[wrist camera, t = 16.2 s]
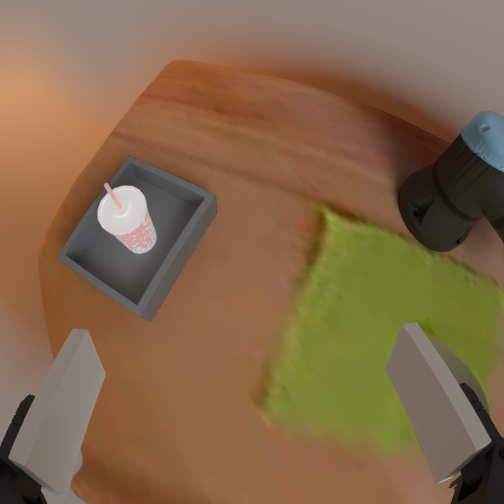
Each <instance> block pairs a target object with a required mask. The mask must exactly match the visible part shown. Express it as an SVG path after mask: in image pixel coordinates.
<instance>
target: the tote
mask: <svg viewBox="0 0 504 504" xmlns="http://www.w3.org/2000/svg"><path fill="white" fill-rule="evenodd" d="M108 185H109V186H110V188H111V190H113V189H114V188H117V187H120V186H133V187H135V188H137V189H139V190H140V191H141V192H142V194H143V195H144V197H145V199H146V203H147V210H148V213H149V215H150V218H151V220H152V223H153V226H154V228H155V231H156V236H157V238H156V242H155V244H154V246H153V247H152V249H150V250H149V251H147V252H145V253H141V254H139V253H134V252H132V251H131V250H129V249H128V248H127V247H126V246H125V245H124V244H123V243H122V242H121V241H119V240H118V239H117V238H116V237H115V236H114V235H113V234H110V233H109V232H107V231H106V230H105V229H104V228H102V226H101V224H100V222H99V221H98V212H97V210H98V208H99V205H100V202H101V200H102V199H103V198H104V196H105V195H106V194H107V193H108V192H107V190H106V188H105V187H104V189H103V190H102V191H101V193H100V194H99V195H98V197H97V198H96V199H95V201H94V202H93V203H92V205H91V206H90V208H89V209H88V211H87V212H86V213H85V215H84V216H83V218H82V219H81V221H80V222H79V224H78V225H77V227H76V228H75V230H74V231H73V233H72V234H71V236H70V237H69V239H68V240H67V242H66V243H65V245H64V247H63V248H62V250H61V252H60V253H59V255H58V256H57V258H58V259H59V260H61V261H62V262H63V263H64V264H66V265H67V266H68V267H70V268H71V269H72V270H74V271H75V272H76V273H78V274H79V275H80V276H82V277H83V278H84V279H86V280H87V281H88V282H90V283H91V284H92V285H94V286H95V287H97V288H98V289H99V290H101V291H102V292H104V293H105V294H107V295H108V296H109V297H111V298H112V299H114V300H115V301H117V302H118V303H120V304H121V305H123V306H124V307H126V308H127V309H129V310H130V311H132V312H133V313H135V314H136V315H138V316H139V317H141V318H143V319H146V320H148V321H150V322H151V321H152V320H153V318H154V316H155V314H156V313H157V311H158V309H159V307H160V306H161V304H162V302H163V300H164V299H165V297H166V295H167V294H168V292H169V290H170V289H171V287H172V285H173V283H174V282H175V280H176V278H177V277H178V275H179V273H180V272H181V270H182V268H183V267H184V265H185V263H186V262H187V260H188V259H189V257H190V255H191V254H192V252H193V250H194V249H195V247H196V246H197V244H198V242H199V241H200V239H201V237H202V236H203V234H204V233H205V231H206V230H207V228H208V226H209V225H210V223H211V222H212V220H213V218H214V217H215V215H216V214H217V203H216V195H215V194H213V193H211V192H209V191H207V190H204V189H202V188H200V187H198V186H196V185H194V184H191V183H189V182H187V181H185V180H183V179H181V178H178V177H176V176H174V175H172V174H170V173H167V172H165V171H163V170H161V169H158V168H156V167H154V166H152V165H149V164H147V163H145V162H143V161H140V160H138V159H136V158H133V157H131V156H129V157H128V158H127V160H126V161H125V162H124V163H123V164H122V166H121V167H120V168H119V169H118V171H117V172H116V173H115V174H114V176H113V177H112V178H111V179H110V181H109V182H108Z"/></svg>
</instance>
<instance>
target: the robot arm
mask: <svg viewBox="0 0 504 504" xmlns="http://www.w3.org/2000/svg"><path fill="white" fill-rule="evenodd" d="M399 207H400V211H401V215H402V217H403V220H404V222H405V224H406V226H407V227H408V229H409V230H410V232H411V233H412V234H413V235H414V237H415V238H416V239H417V240H418V241H419V242H421V243H422V244H423V245H424V246H426V247H428V248H429V249H432V250H434V251H438V252H448V251H451V250H453V249H454V248H456V247H458V246H459V245H460V244H462V243H463V242H464V240H465V239H466V238H467V236H468V234H469V233H470V231H471V230H472V228H473V227H474V225H475V223H476V222H477V221H478V220H479V219H480V218H482V217H483V216H485V217H486V218H487V220H488V221H489V222H490V224H491V225H492V226H493V228H494V229H495V231H496V232H497V234H498V235H499V237H500V238H501V240H502V241H503V243H504V116H502V115H499V114H497V113H495V112H491V111H482V112H480V113H478V114H477V115H475V117H474V118H473V119H472V120H471V121H470V122H469V123H468V124H466V125H465V126H464V127H463V128H462V130H461V133H460V134H459V136H458V137H457V138H456V139H455V140H454V141H453V142H452V144H451V145H450V146H449V147H448V148H447V149H446V150H445V152H444V153H443V154H442V155H441V156H440V157H439V158H438V160H437V161H436V162H435V163H434V164H432V165H429V166H427V167H425V168H423V169H421V170H419V171H416V172H414V173H413V174H411V175H410V176H409V177H408V178H407V179H406V181H405V182H404V183H403V184H402V186H401V188H400V191H399ZM385 369H386V371H387V373H388V375H389V377H390V379H391V381H392V383H393V385H394V388H395V390H396V392H397V394H398V396H399V398H400V400H401V402H402V404H403V407H404V409H405V411H406V413H407V415H408V417H409V420H410V422H411V424H412V426H413V429H414V431H415V433H416V435H417V438H418V440H419V442H420V445H421V447H422V449H423V452H424V454H425V456H426V459H427V461H428V464H429V466H430V469H431V471H432V473H433V476H434V479H435V481H436V484H439V483H441V482H443V481H445V480H448V479H450V478H452V477H453V476H454V475H456V474H457V473H458V472H459V471H461V474H462V475H461V476H459V477H458V478H457V479H456V480H454V481H453V482H452V483H451V484H450V486H449V488H452V487H453V486H455V485H456V484H457V486H456V487H455V488H454V489H455V492H454V495H453V498H452V501H451V504H504V438H502V437H501V435H500V434H499V432H498V431H497V429H496V427H495V425H494V424H493V422H492V420H491V419H490V417H489V415H488V414H487V412H486V410H485V409H483V405H482V404H481V402H479V399H478V397H477V396H476V394H475V392H474V391H473V390H472V389H471V388H470V387H469V386H467V385H466V384H465V383H462V384H458V383H457V381H456V380H455V378H454V376H453V375H452V373H451V372H450V370H449V369H448V367H447V366H446V364H445V363H444V361H443V360H442V358H441V357H440V355H439V354H438V352H437V351H436V349H435V348H434V346H433V345H432V343H431V342H430V341H429V339H428V338H427V336H426V335H425V333H424V332H423V331H422V329H421V328H420V326H419V325H418V324H417V322H416V323H408V324H402V327H401V330H400V333H399V335H398V338H397V341H396V343H395V346H394V348H393V351H392V353H391V356H390V358H389V361H388V363H387V366H386V368H385ZM105 376H106V373H105V371H104V369H103V366H102V364H101V362H100V359H99V357H98V355H97V352H96V350H95V347H94V345H93V342H92V339H91V337H90V334H89V331H88V330H84V329H74V328H73V330H72V331H71V333H70V335H69V336H68V338H67V340H66V341H65V343H64V345H63V346H62V348H61V350H60V352H59V353H58V355H57V357H56V359H55V360H54V362H53V364H52V366H51V368H50V370H49V371H48V373H47V375H46V377H45V379H44V381H43V383H42V385H41V386H40V389H39V391H38V392H37V394H36V396H33V395H28V396H27V397H26V398H25V399H24V400H23V401H22V402H21V403H20V405H19V407H18V409H17V411H16V415H14V417H13V419H12V423H11V424H10V426H9V428H8V430H7V433H6V435H5V437H4V439H3V441H2V444H1V446H0V504H47V502H46V500H45V498H44V495H43V494H42V492H41V487H43V488H45V489H46V490H48V491H49V492H51V493H53V494H56V495H59V496H61V497H64V498H66V497H67V494H68V490H69V486H70V482H71V478H72V475H73V471H74V468H75V464H76V460H77V457H78V454H79V451H80V448H81V444H82V441H83V438H84V435H85V432H86V429H87V426H88V423H89V420H90V417H91V414H92V411H93V409H94V406H95V403H96V400H97V397H98V395H99V392H100V389H101V387H102V384H103V381H104V379H105Z"/></svg>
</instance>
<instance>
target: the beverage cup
mask: <svg viewBox="0 0 504 504" xmlns="http://www.w3.org/2000/svg"><path fill="white" fill-rule="evenodd" d="M104 187H105V188H106V190H107V192H108V193H107V194H106V195H105V196H104V198H103V199H102V200H101V202H100V205H99V208H98V210H97V212H98V221H99V222H100V224H101V226H102V228H104V229H105V230H106V231H107V232H109V233H110V234H113V235H114V236H115V237H116V238H117V239H118V240H119V241H121V242H122V243H123V244H124V245H125V246H126V247H127V248H128V249H129V250H131V251H132V252H134V253H139V254H141V253H145V252H147V251H149V250H150V249H152V247H153V246H154V244H155V242H156V238H157V236H156V231H155V228H154V226H153V223H152V220H151V218H150V215H149V213H148V210H147V203H146V199H145V197H144V195H143V194H142V192H141V191H140V190H139V189H137V188H135V187H133V186H120V187H117V188H114V189H113V190H111V188H110V186H109V185H108V183H105V184H104Z"/></svg>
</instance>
